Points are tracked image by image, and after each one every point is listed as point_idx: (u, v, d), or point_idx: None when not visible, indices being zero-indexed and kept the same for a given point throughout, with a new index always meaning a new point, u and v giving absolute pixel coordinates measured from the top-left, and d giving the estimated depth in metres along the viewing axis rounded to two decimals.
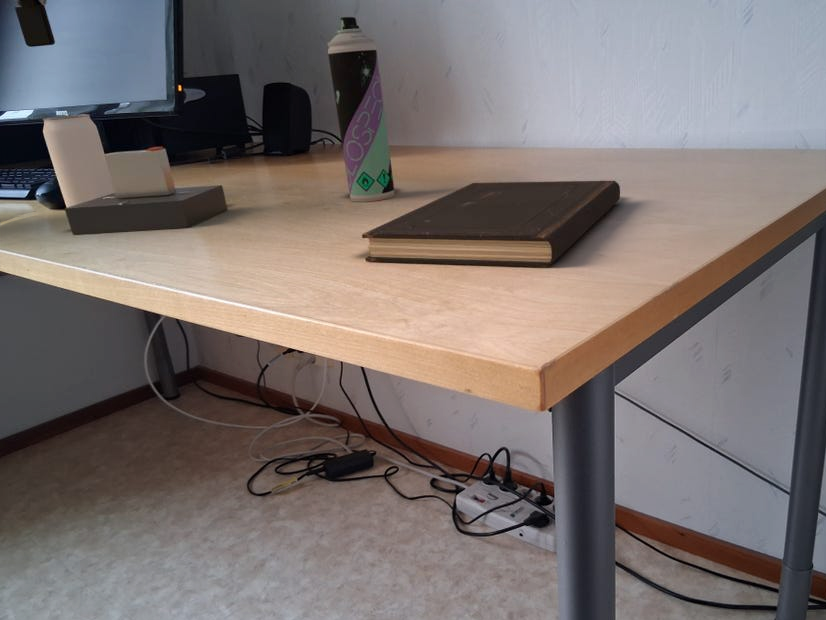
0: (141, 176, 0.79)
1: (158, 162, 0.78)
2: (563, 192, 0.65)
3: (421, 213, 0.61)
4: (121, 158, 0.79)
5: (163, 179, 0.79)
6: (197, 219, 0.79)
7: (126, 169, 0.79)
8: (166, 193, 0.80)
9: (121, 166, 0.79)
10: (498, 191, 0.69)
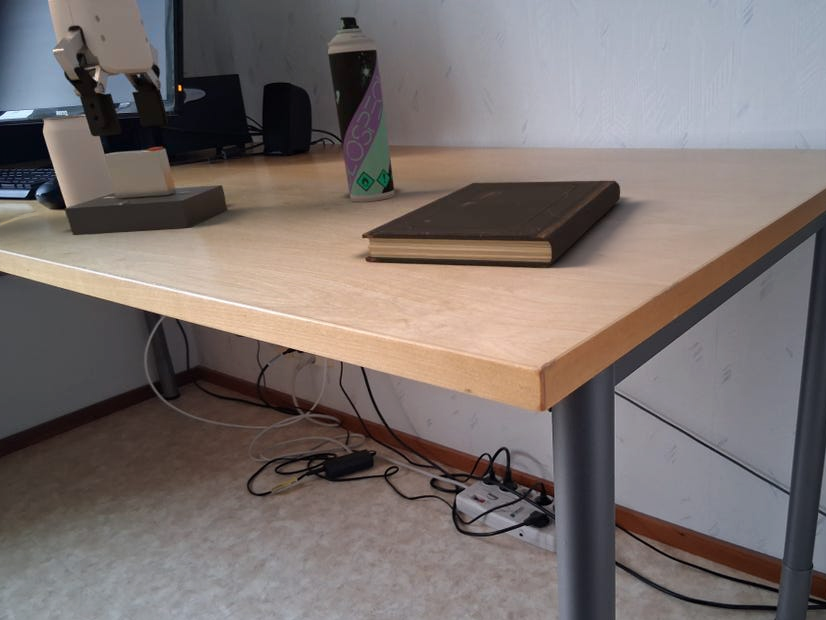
0: (141, 176, 0.79)
1: (158, 162, 0.78)
2: (563, 192, 0.65)
3: (421, 213, 0.61)
4: (121, 158, 0.79)
5: (163, 179, 0.79)
6: (197, 219, 0.79)
7: (126, 169, 0.79)
8: (166, 193, 0.80)
9: (121, 166, 0.79)
10: (498, 191, 0.69)
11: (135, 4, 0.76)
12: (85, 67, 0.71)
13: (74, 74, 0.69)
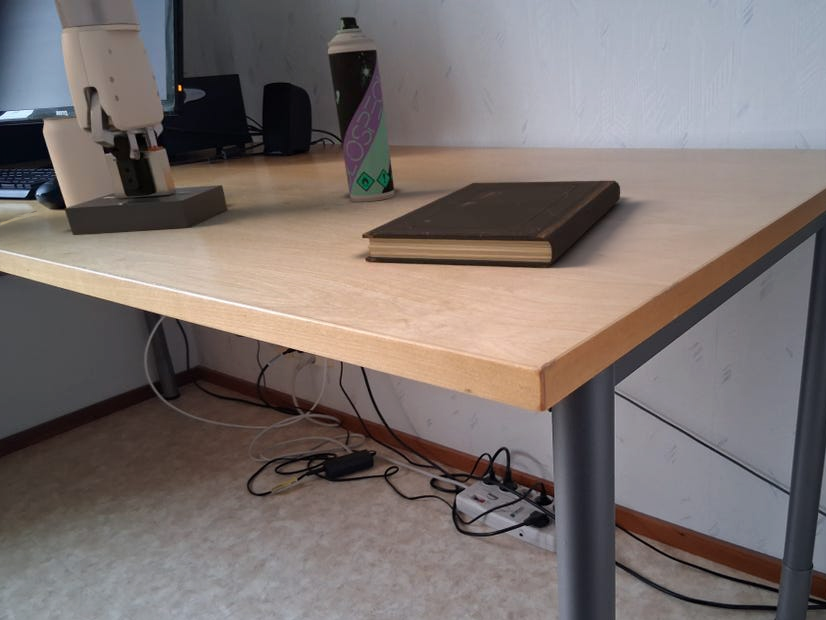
0: None
1: (158, 162, 0.78)
2: (563, 192, 0.65)
3: (421, 213, 0.62)
4: None
5: (163, 179, 0.79)
6: (197, 219, 0.79)
7: None
8: (166, 193, 0.80)
9: None
10: (498, 191, 0.69)
11: (147, 61, 0.78)
12: None
13: (114, 147, 0.75)
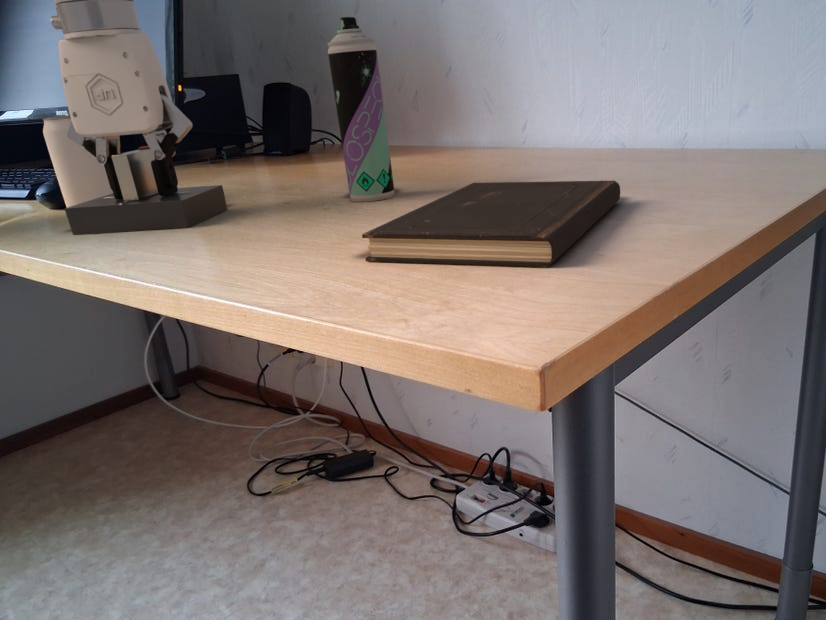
0: (151, 174, 0.81)
1: None
2: (563, 192, 0.65)
3: (421, 213, 0.62)
4: (137, 157, 0.78)
5: None
6: (197, 219, 0.79)
7: (141, 168, 0.79)
8: None
9: (138, 165, 0.78)
10: (498, 191, 0.69)
11: None
12: (157, 132, 0.78)
13: (179, 140, 0.78)
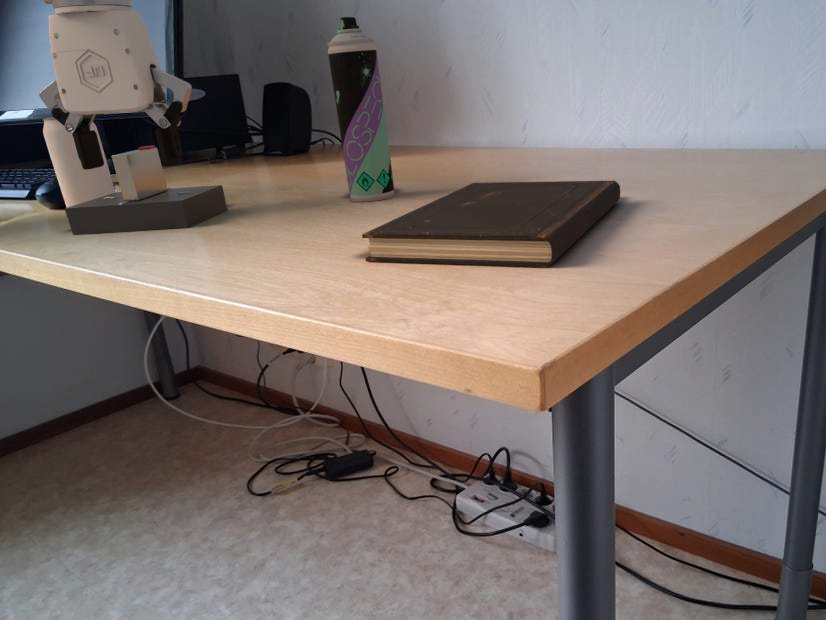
0: (151, 174, 0.81)
1: (159, 159, 0.82)
2: (563, 192, 0.65)
3: (421, 213, 0.62)
4: (137, 157, 0.78)
5: (163, 175, 0.83)
6: (197, 219, 0.79)
7: (141, 168, 0.79)
8: (166, 188, 0.84)
9: (138, 165, 0.78)
10: (498, 191, 0.69)
11: None
12: (154, 102, 0.76)
13: (185, 106, 0.77)
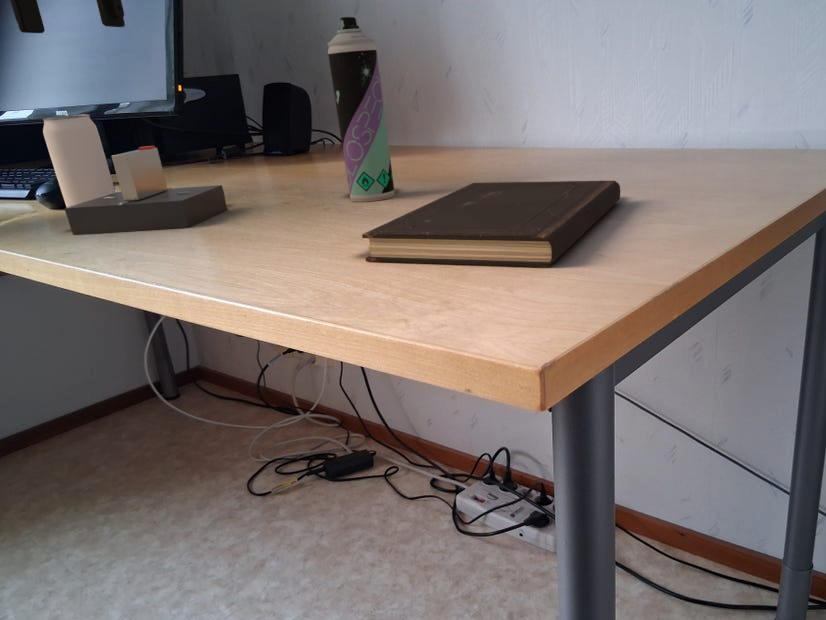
0: (151, 174, 0.81)
1: (159, 159, 0.82)
2: (563, 192, 0.65)
3: (421, 213, 0.62)
4: (137, 157, 0.78)
5: (163, 175, 0.83)
6: (197, 219, 0.79)
7: (141, 168, 0.79)
8: (166, 188, 0.84)
9: (138, 165, 0.78)
10: (498, 191, 0.69)
11: None
12: None
13: None
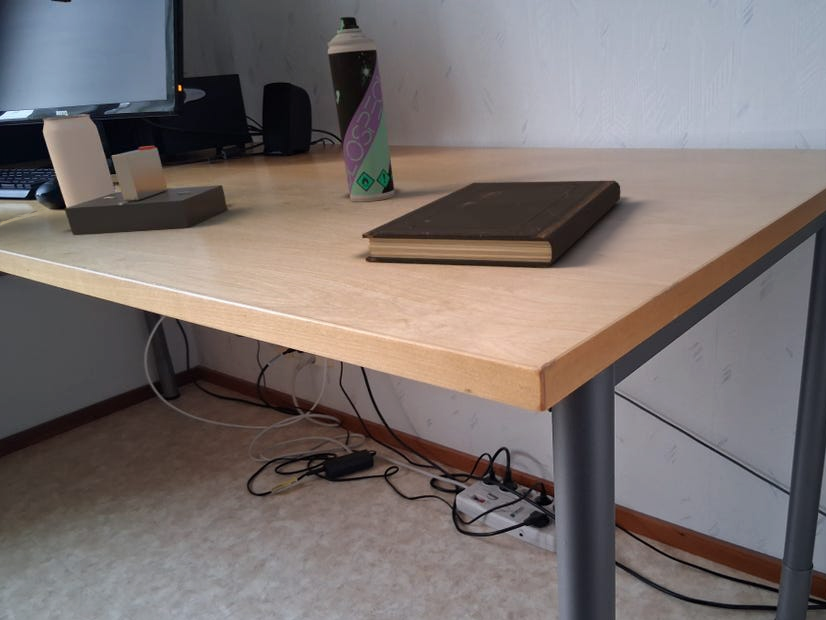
0: (151, 174, 0.81)
1: (159, 159, 0.82)
2: (563, 192, 0.65)
3: (421, 213, 0.62)
4: (137, 157, 0.78)
5: (163, 175, 0.83)
6: (197, 219, 0.79)
7: (141, 168, 0.79)
8: (166, 188, 0.84)
9: (138, 165, 0.78)
10: (498, 191, 0.69)
11: None
12: None
13: None
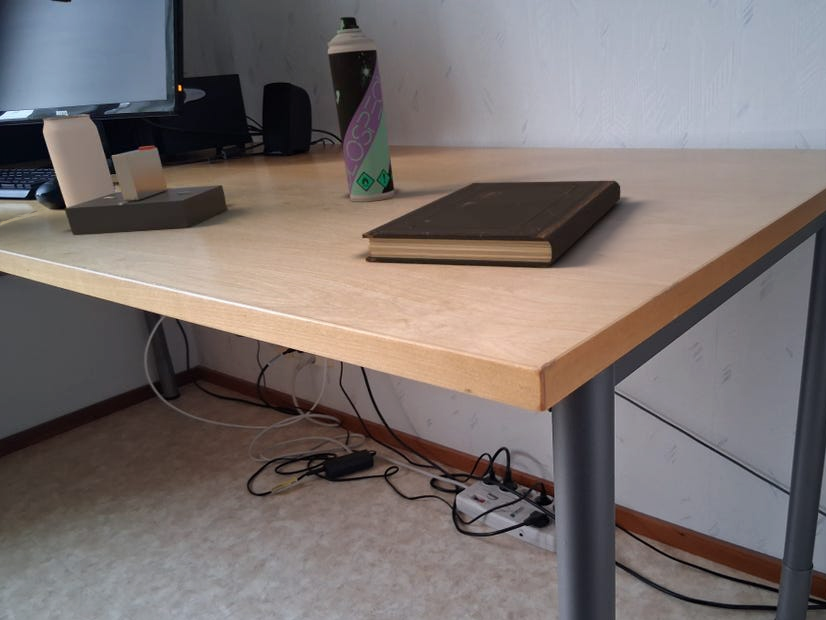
0: (151, 174, 0.81)
1: (159, 159, 0.82)
2: (563, 192, 0.65)
3: (421, 213, 0.62)
4: (137, 157, 0.78)
5: (163, 175, 0.83)
6: (197, 219, 0.79)
7: (141, 168, 0.79)
8: (166, 188, 0.84)
9: (138, 165, 0.78)
10: (498, 191, 0.69)
11: None
12: None
13: None
